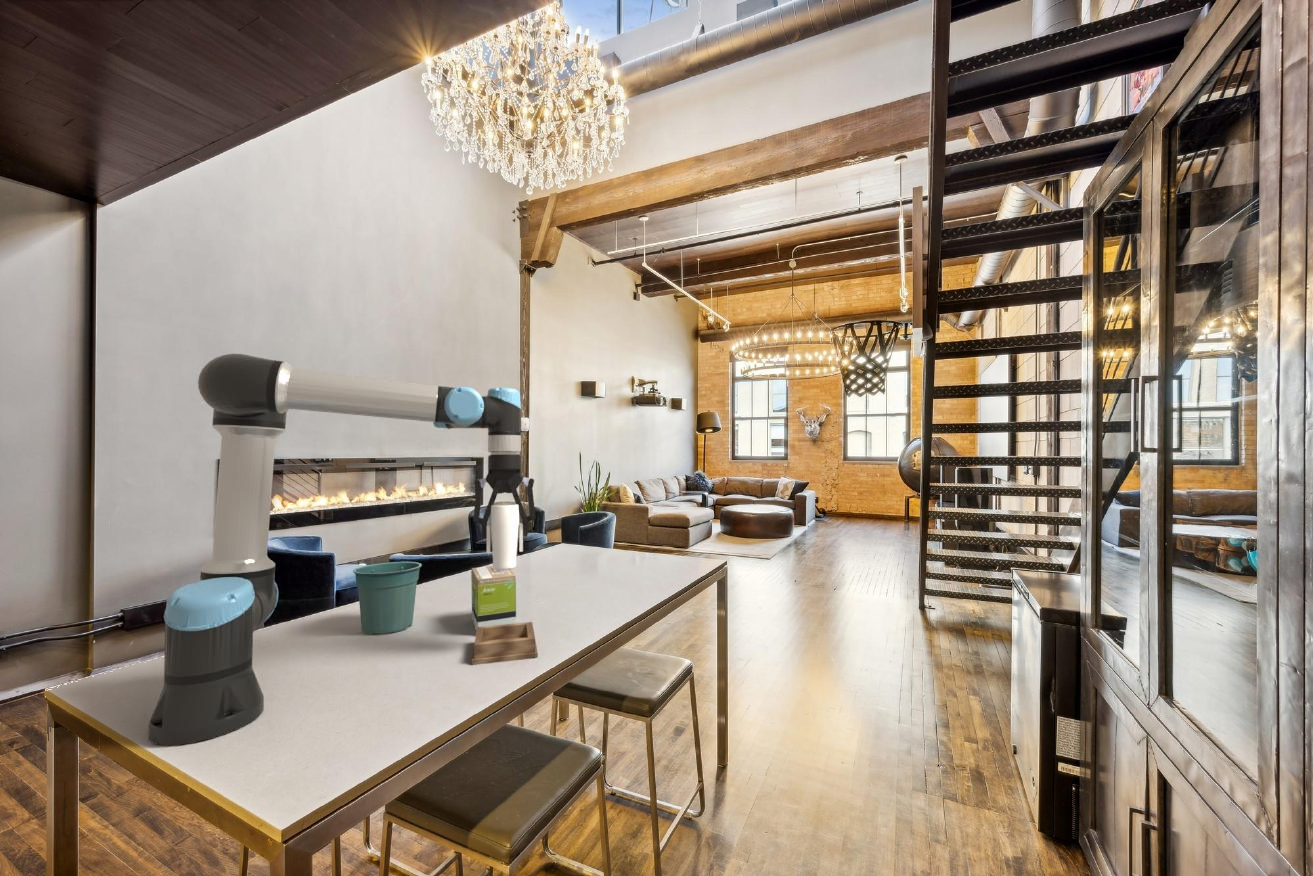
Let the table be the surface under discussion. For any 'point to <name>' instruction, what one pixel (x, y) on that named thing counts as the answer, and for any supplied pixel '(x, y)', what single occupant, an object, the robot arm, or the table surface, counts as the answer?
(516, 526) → the drinking glass
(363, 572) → the flower pot
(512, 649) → the walnut dock
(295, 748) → the table surface
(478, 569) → the tea box
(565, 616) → the table surface
